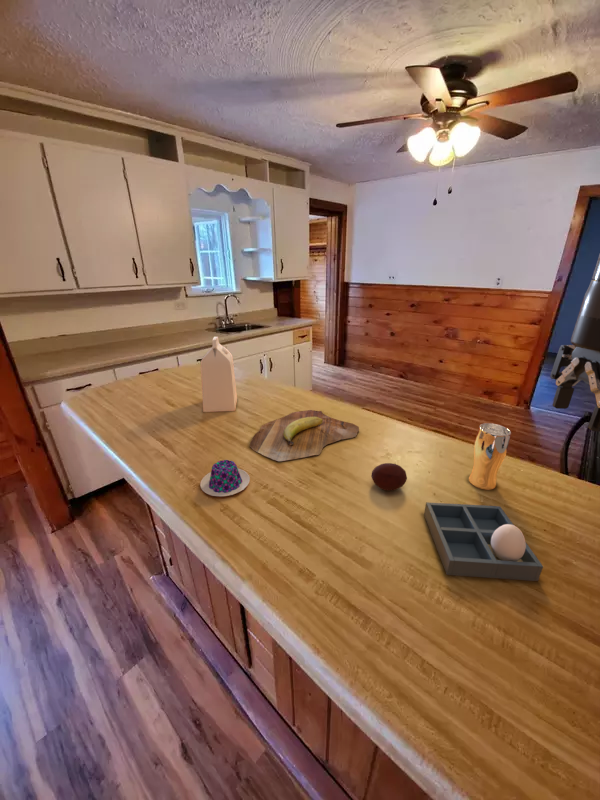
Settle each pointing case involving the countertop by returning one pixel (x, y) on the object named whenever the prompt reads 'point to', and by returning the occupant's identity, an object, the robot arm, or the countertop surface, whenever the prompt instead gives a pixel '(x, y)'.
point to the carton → (475, 542)
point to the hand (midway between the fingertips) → (576, 418)
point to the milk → (218, 379)
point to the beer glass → (489, 454)
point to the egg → (508, 543)
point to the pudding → (224, 479)
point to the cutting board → (300, 435)
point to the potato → (389, 476)
